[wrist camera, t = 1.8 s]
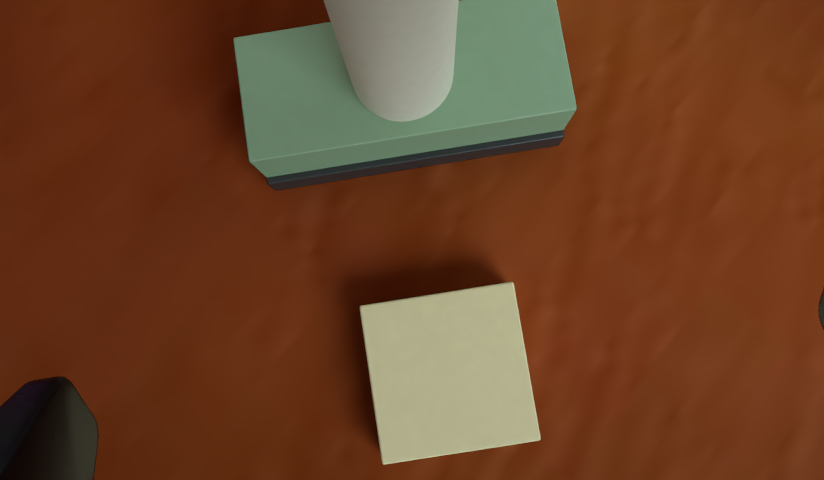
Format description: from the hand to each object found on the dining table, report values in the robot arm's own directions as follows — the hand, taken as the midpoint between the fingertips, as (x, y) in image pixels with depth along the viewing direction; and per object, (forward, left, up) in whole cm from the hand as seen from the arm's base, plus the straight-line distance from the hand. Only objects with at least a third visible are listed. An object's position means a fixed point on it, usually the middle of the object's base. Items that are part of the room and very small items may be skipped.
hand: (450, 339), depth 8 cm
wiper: (+5, -5, -13) cm, 15 cm away
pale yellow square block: (-1, +1, -13) cm, 13 cm away
